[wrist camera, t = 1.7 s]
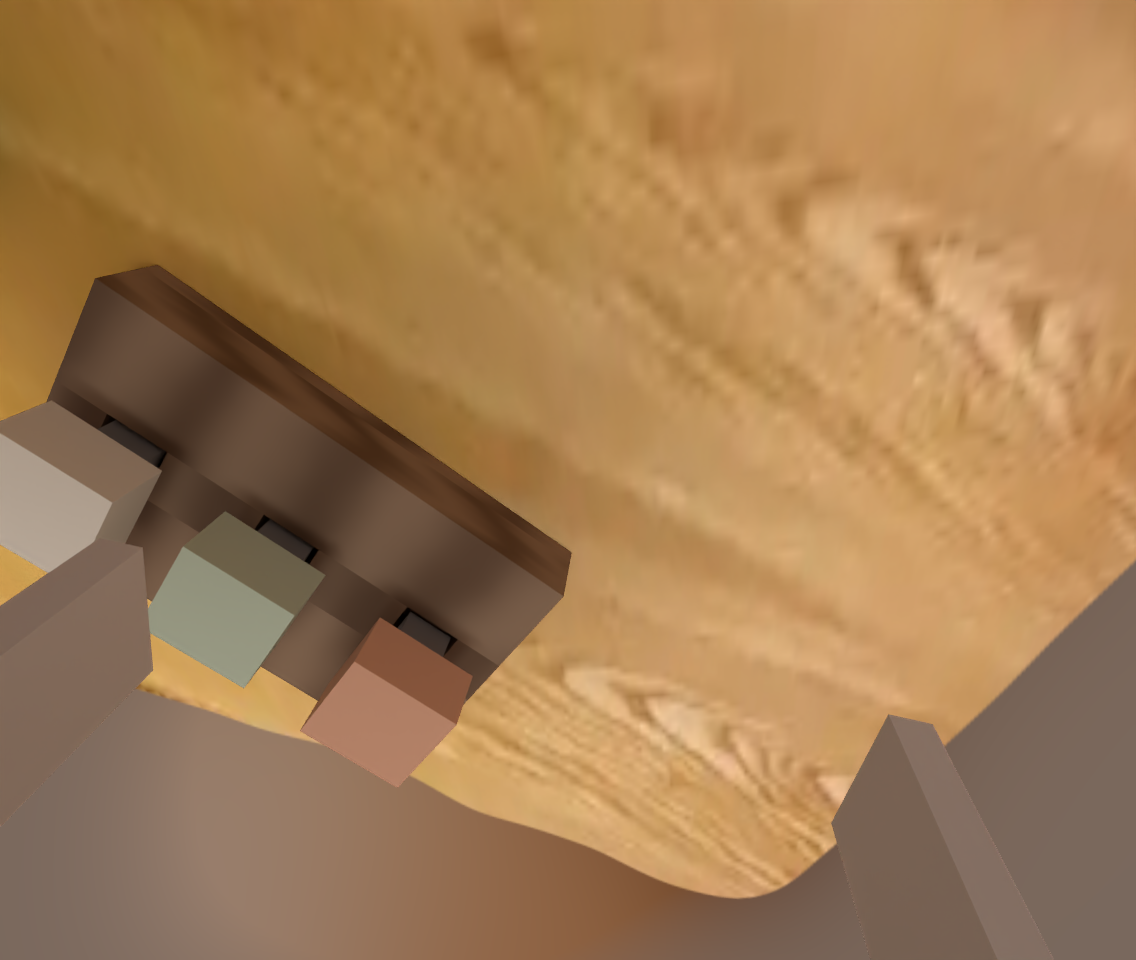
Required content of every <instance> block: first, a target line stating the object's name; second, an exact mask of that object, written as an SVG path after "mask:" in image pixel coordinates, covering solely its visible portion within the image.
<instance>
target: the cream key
mask: <svg viewBox="0 0 1136 960" xmlns="http://www.w3.org/2000/svg"><path fill="white" fill-rule="evenodd" d="M165 452H166V451H164V450H163V449H161V448H160V447H158V446H157V445H155V444H153V443H152V442H150V441H149V440H147V439H146V438H144V437H143V436H141V435H139V434H138V433H136V432H135V431H133V430H132V429H130V428H129V427H127V426H125V425H124V424H122V423H121V422H119V421H118V420H115V421H113V422H111V423H109V424H107V425H105V426H103V427H101V428H99V429H96V428H94V427H93V426H91V425H89V424H88V423H86V422H85V421H83V420H82V419H80V418H78V417H77V416H75V415H74V414H72V413H71V412H69V411H67V410H66V409H64V408H63V407H61V406H60V405H58V404H56V403H55V402H53V401H52V400H51V401H49V402H46V403H44V404H41V405H39V406H36V407H34V408H31V409H29V410H26V411H24V412H21V413H19V414H16V415H14V416H12V417H9V418H7V419H4V420H2V421H0V545H2V546H3V547H5V548H7V549H8V550H10V551H12V552H14V553H15V554H17V555H19V556H20V557H22V558H24V559H25V560H27V561H29V562H31V563H32V564H34V565H36V566H37V567H39V568H41V569H42V570H44V571H46V572H47V573H49V572H51V571H52V570H54V569H55V568H57V567H58V566H59V565H61V564H62V563H64V562H65V561H67V560H68V559H70V558H71V557H73V556H74V555H76V554H77V553H78V552H80V551H81V550H83V549H84V548H86V547H87V546H89V545H90V544H92V543H93V542H95V541H96V540H97V539H99V538H102V539H106V540H111V541H115V542H120V543H124V544H125V543H126V541H127V539H128V537H129V535H130V533H131V531H132V529H133V527H134V525H135V523H136V521H137V519H138V517H139V515H140V513H141V511H142V509H143V507H144V505H145V504H146V502H147V500H148V498H149V496H150V494H151V492H152V490H153V488H154V486H155V484H156V482H157V480H158V478H159V476H160V474H161V472H162V470H160V469H158V466H159V464H160V462H161V460H162V458H163V456H164V454H165Z"/></svg>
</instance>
